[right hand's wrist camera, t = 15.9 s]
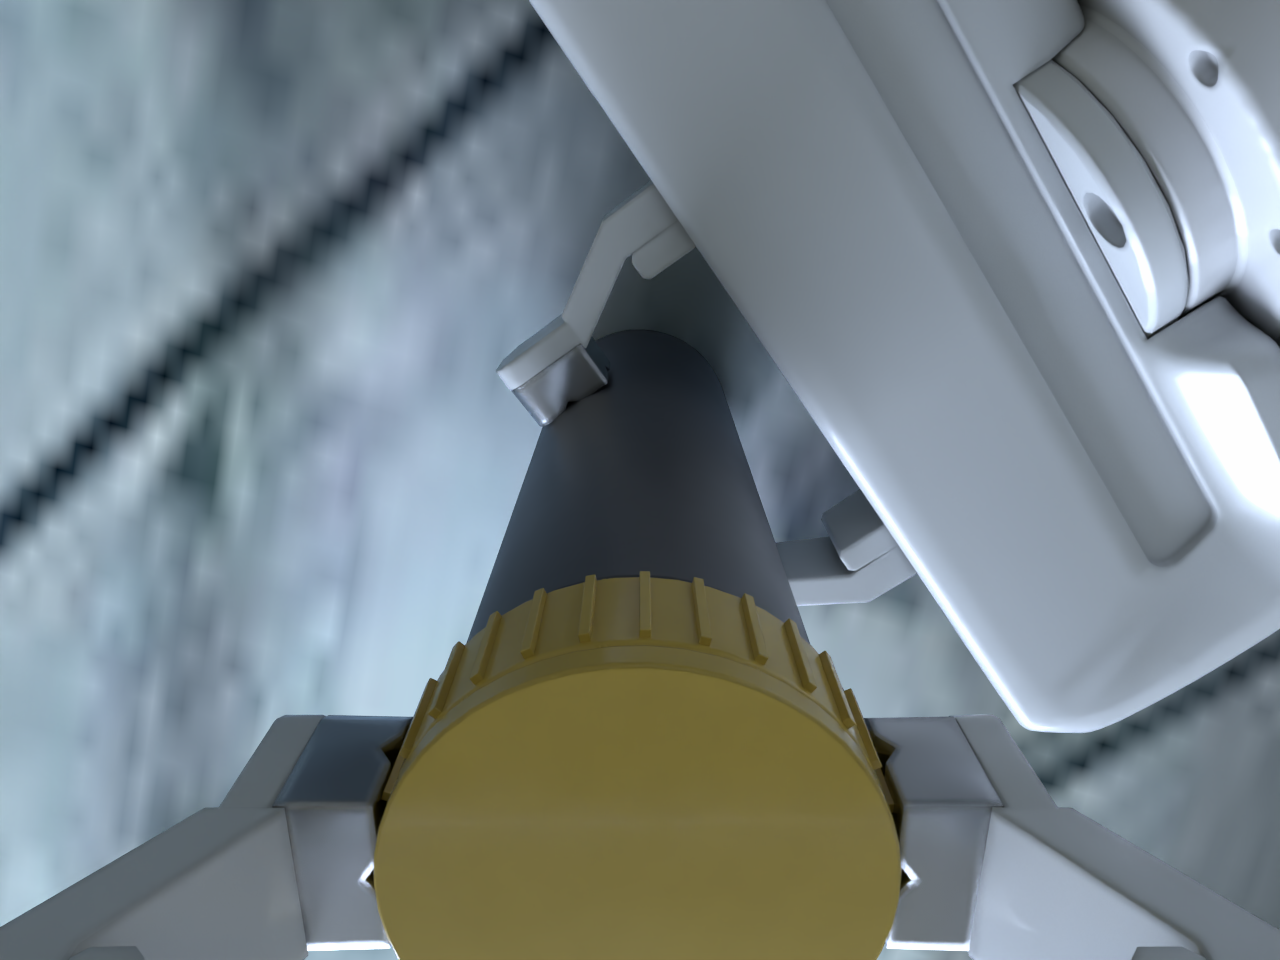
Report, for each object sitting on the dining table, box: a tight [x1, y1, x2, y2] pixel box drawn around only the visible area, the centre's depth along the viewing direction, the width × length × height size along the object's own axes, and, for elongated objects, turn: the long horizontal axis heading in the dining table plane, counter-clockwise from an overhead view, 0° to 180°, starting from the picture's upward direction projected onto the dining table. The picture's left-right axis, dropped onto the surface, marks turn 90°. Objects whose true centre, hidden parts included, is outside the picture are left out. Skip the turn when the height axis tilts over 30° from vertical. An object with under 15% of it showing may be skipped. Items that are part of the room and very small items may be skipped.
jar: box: [466, 330, 810, 644], centre depth 17 cm, size 5×5×16 cm
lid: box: [374, 571, 902, 960], centre depth 9 cm, size 5×5×2 cm
